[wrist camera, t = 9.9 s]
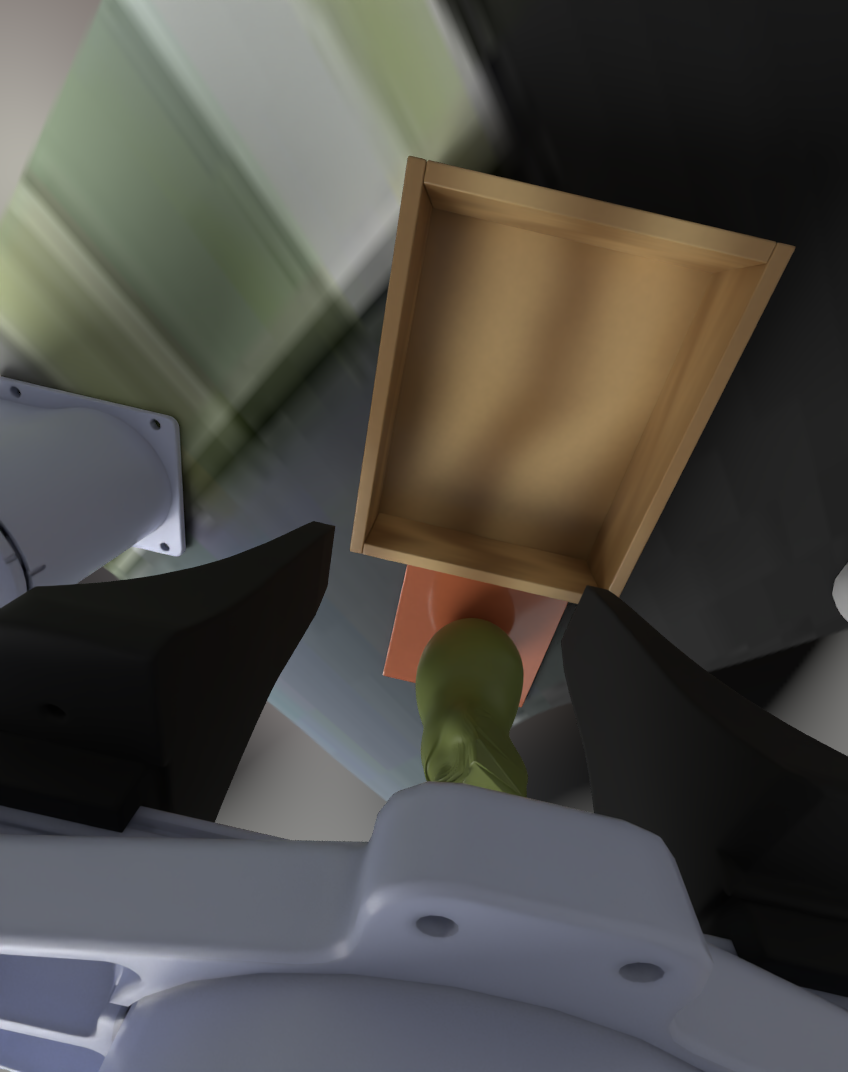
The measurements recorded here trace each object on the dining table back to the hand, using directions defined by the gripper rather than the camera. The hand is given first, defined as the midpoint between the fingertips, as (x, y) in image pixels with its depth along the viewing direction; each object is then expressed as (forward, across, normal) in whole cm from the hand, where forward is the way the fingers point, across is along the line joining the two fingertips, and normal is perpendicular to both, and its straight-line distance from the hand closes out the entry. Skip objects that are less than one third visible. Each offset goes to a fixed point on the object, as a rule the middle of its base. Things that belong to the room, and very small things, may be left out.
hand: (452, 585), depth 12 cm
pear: (+10, -3, +10) cm, 14 cm away
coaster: (+10, -3, +10) cm, 14 cm away
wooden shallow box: (+10, -2, -4) cm, 11 cm away
